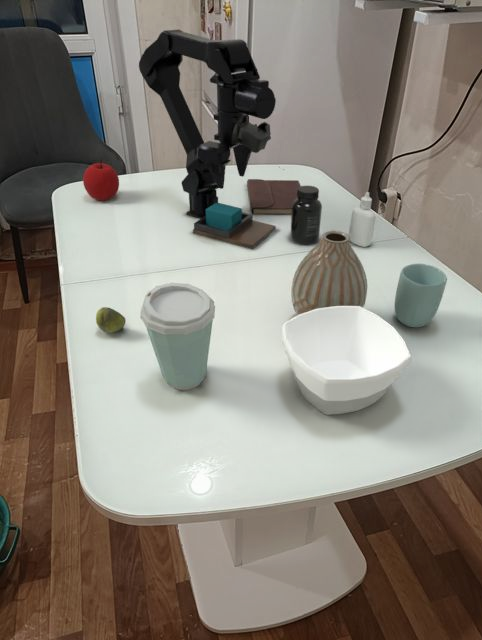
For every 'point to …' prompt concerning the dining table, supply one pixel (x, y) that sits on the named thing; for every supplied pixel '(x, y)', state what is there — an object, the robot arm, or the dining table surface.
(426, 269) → the cup
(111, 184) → the apple
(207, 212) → the block
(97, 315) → the lime
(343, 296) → the vase
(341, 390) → the bowl
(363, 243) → the eye dropper bottle
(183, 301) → the disposable coffee cup
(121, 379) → the dining table surface
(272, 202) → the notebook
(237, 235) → the brown wooden tray
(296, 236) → the supplement bottle
